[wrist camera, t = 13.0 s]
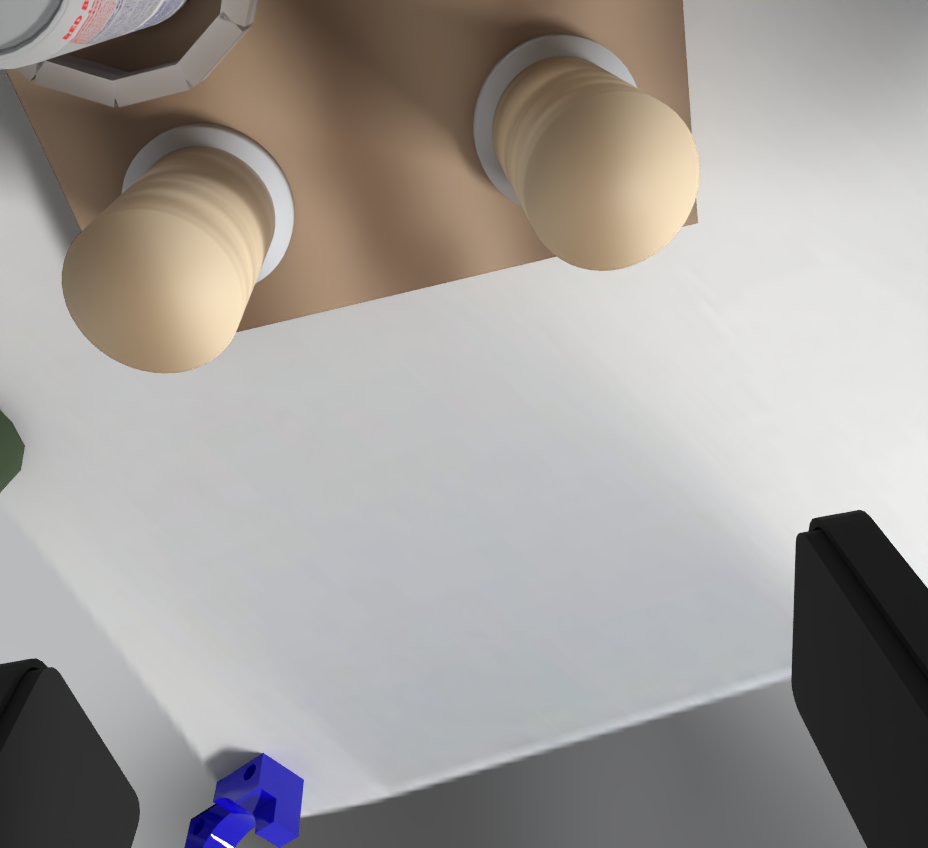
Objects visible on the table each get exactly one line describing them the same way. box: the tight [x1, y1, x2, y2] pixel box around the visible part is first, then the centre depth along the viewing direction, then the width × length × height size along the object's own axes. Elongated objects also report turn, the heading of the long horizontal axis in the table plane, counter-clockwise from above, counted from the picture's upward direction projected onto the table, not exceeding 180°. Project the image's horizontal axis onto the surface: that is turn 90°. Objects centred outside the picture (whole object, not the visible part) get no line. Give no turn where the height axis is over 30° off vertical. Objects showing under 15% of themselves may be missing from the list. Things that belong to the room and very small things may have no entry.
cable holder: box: [185, 753, 304, 848], centre depth 50 cm, size 8×4×4 cm, turn 128°
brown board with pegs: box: [5, 0, 700, 373], centre depth 25 cm, size 23×19×12 cm
